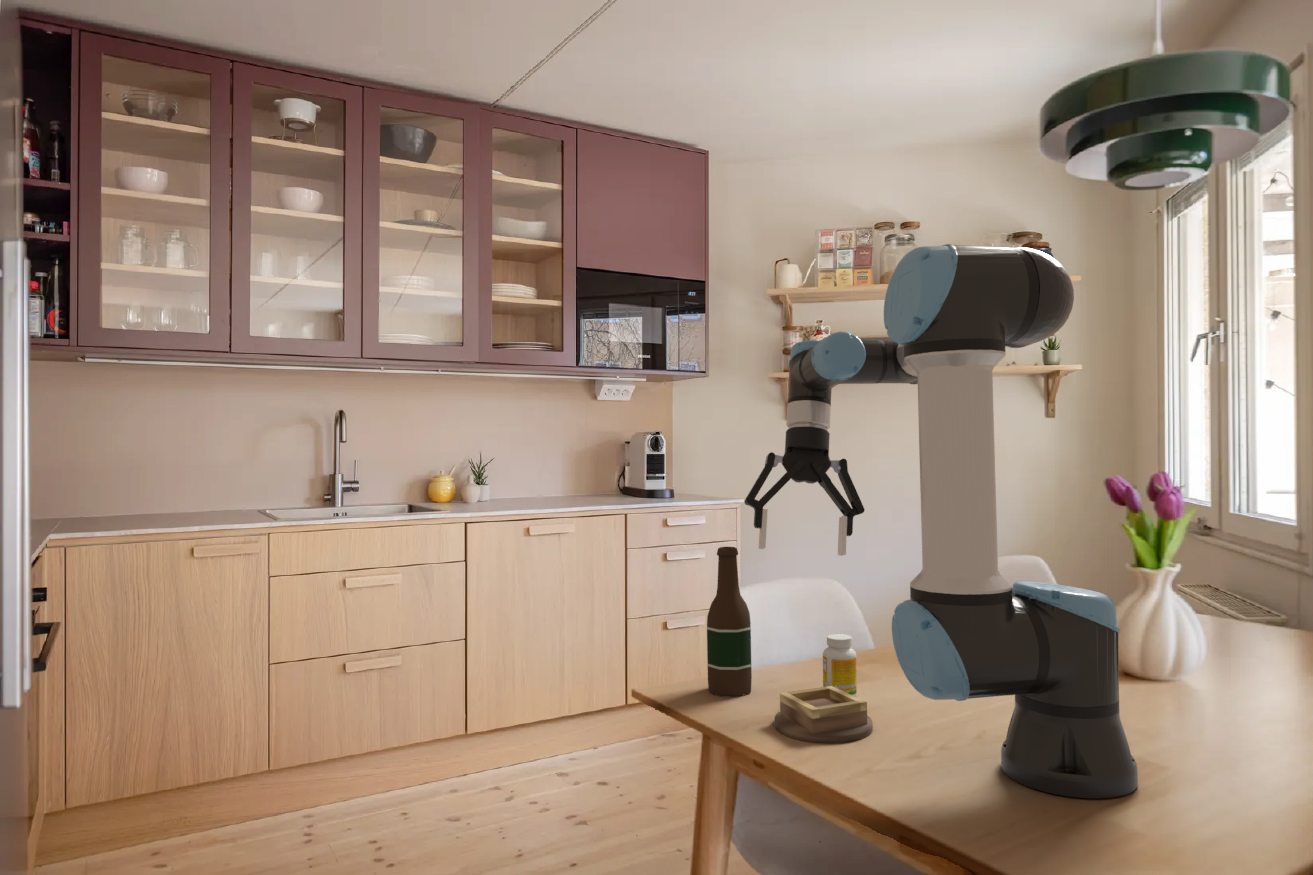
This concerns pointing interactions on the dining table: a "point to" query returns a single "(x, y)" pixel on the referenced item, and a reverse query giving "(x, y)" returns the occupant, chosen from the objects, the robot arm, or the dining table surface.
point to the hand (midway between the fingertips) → (801, 551)
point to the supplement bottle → (840, 664)
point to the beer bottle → (728, 632)
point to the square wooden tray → (823, 716)
